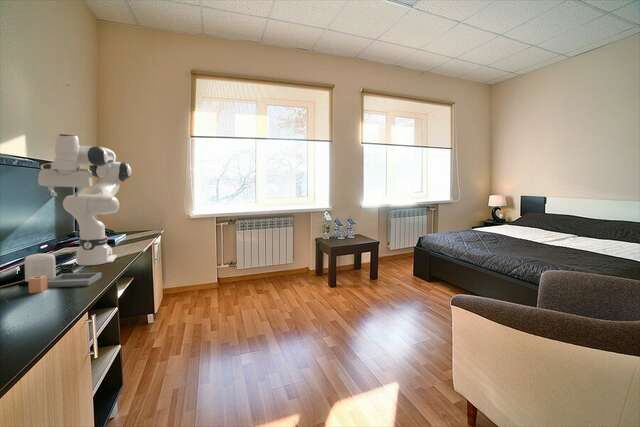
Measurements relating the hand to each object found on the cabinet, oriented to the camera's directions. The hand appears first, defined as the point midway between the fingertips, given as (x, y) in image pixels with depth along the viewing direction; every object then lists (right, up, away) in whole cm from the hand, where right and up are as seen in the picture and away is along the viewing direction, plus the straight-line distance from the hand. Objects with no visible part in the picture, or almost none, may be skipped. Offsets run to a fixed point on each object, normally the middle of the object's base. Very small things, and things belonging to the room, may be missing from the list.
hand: (65, 196), depth 135 cm
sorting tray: (+9, -40, -5) cm, 41 cm away
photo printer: (-8, -39, -4) cm, 40 cm away
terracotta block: (+4, -41, -17) cm, 44 cm away
